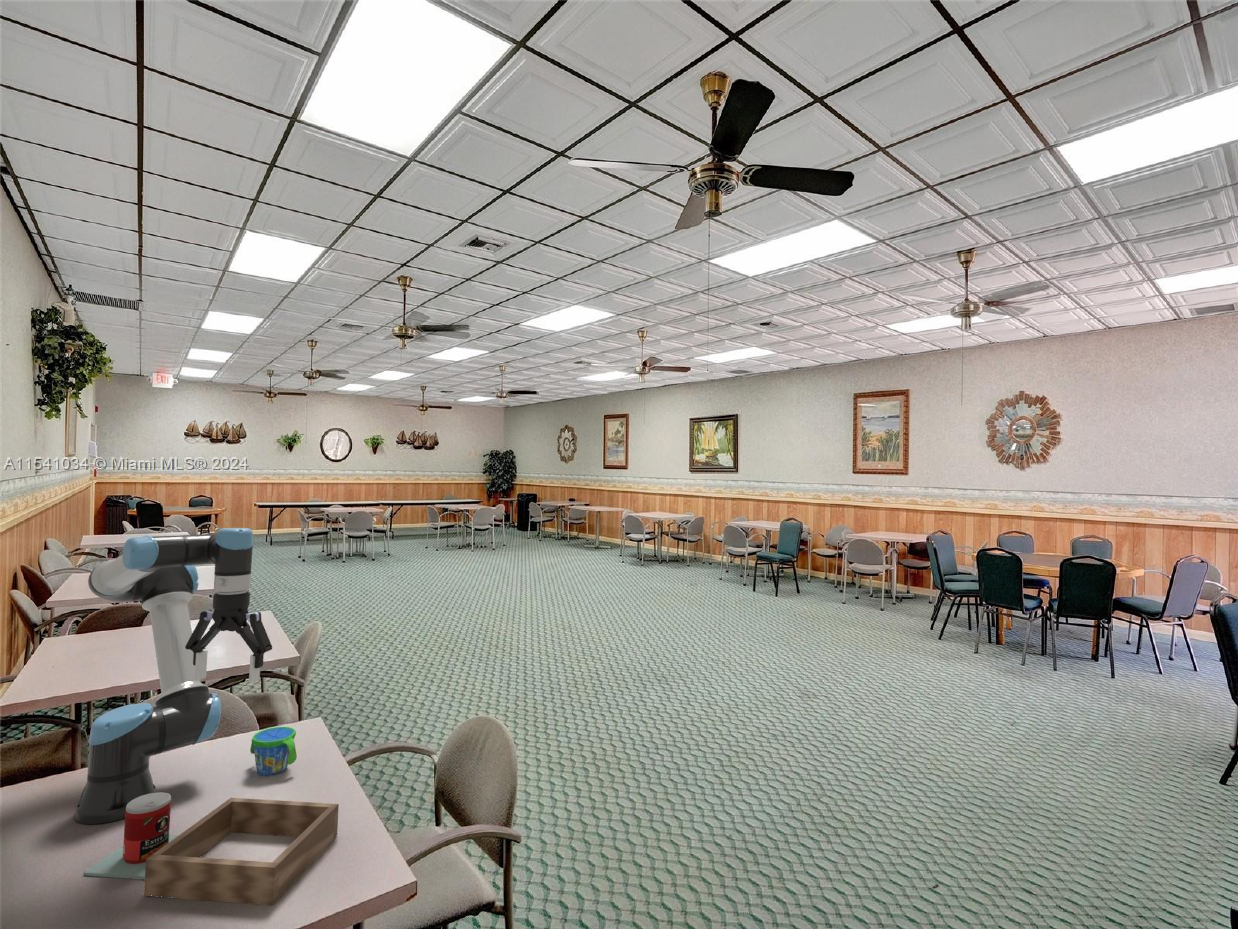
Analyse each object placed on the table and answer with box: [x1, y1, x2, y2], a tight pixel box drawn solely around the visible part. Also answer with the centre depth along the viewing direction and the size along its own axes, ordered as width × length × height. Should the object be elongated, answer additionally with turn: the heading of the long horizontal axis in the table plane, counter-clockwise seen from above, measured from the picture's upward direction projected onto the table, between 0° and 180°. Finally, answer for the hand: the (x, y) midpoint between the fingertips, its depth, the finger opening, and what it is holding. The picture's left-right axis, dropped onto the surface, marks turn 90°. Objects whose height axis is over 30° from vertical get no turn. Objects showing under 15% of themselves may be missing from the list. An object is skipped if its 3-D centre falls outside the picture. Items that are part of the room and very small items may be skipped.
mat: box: [83, 833, 180, 880], centre depth 126 cm, size 14×14×1 cm
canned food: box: [122, 791, 172, 864], centre depth 126 cm, size 8×8×11 cm
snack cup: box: [250, 726, 297, 777], centre depth 165 cm, size 16×11×10 cm
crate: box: [143, 797, 339, 906], centre depth 125 cm, size 26×23×7 cm
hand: (227, 680), depth 142 cm, fingers open, 13 cm apart
